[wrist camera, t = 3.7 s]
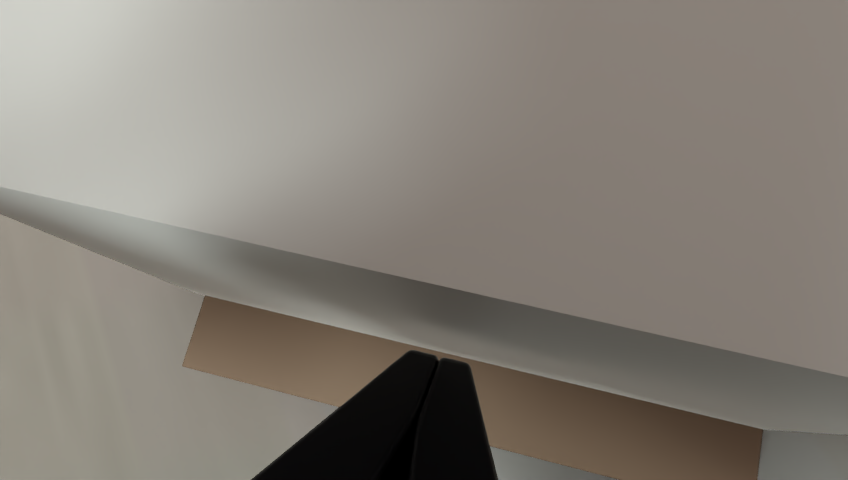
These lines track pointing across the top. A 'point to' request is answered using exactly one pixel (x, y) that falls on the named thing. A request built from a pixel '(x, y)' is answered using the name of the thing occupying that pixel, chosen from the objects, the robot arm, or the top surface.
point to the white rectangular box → (468, 177)
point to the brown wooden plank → (497, 392)
